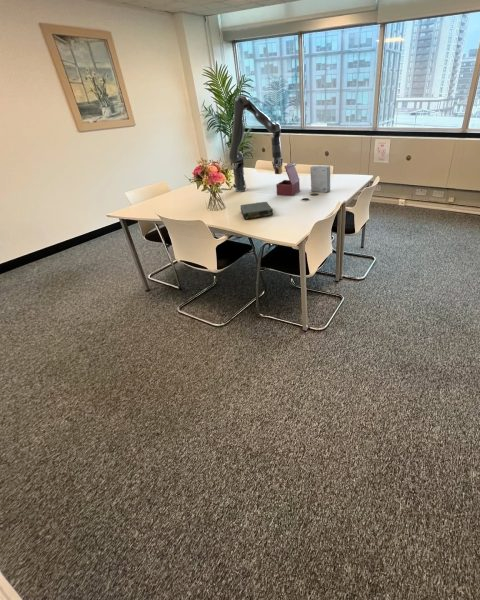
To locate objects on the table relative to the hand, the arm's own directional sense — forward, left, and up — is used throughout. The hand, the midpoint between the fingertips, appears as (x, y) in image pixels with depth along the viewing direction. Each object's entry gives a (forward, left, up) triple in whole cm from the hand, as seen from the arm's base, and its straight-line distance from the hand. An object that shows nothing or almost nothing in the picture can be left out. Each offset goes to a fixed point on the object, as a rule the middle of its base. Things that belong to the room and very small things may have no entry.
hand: (278, 173), depth 263 cm
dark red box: (+3, +7, -17) cm, 19 cm away
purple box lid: (+7, +8, -1) cm, 11 cm away
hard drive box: (+22, +28, -18) cm, 40 cm away
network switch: (+22, -45, -18) cm, 53 cm away
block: (0, 0, 0) cm, 0 cm away
